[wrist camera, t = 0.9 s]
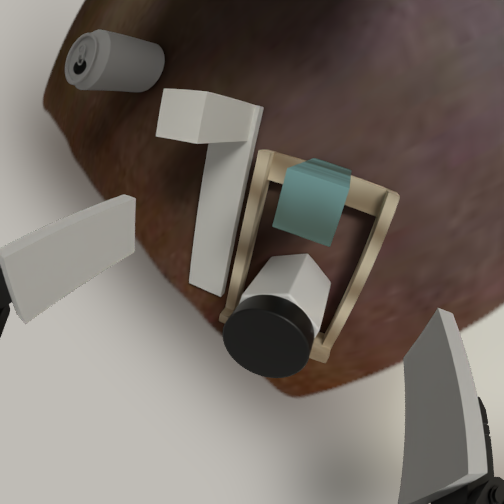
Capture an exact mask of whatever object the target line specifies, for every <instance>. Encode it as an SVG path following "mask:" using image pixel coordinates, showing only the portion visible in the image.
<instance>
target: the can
mask: <svg viewBox="0 0 504 504" xmlns="http://www.w3.org/2000/svg"><path fill="white" fill-rule="evenodd" d="M164 63H165V58H164V53H163V50H162V48H161V47H160V46H159V45H158V44H155V43H151V42H148V41H145V40H141V39H138V38H134V37H130V36H126V35H122V34H118V33H114V32H110V31H105V30H100V29H99V30H96V31H93V32H92V33H86V34H83V35H82V36H80V37H79V38H78V39H77V40H76V41H75V43H74V44H73V45H72V47H71V49H70V51H69V53H68V56H67V59H66V63H65V76H66V79H67V81H68V83H70V84H72V85H75V86H76V88H78V89H80V90H108V91H126V92H143V91H146V90H148V89H149V88H150V87H152V86H153V85H154V84H155V83H156V81H157V80H158V79H159V77H160V75H161V73H162V71H163V67H164Z"/></svg>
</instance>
